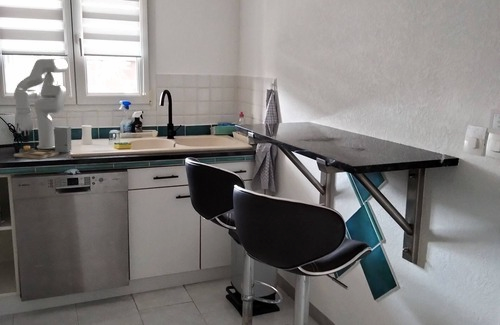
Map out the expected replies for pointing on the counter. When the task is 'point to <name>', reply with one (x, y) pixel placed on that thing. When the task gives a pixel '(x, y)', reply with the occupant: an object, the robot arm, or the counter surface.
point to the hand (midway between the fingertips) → (25, 141)
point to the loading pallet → (35, 153)
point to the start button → (26, 147)
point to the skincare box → (62, 139)
